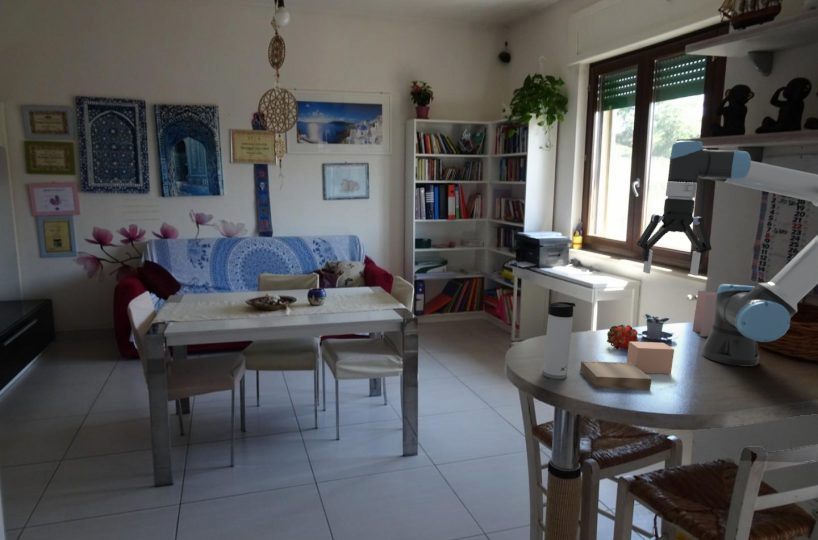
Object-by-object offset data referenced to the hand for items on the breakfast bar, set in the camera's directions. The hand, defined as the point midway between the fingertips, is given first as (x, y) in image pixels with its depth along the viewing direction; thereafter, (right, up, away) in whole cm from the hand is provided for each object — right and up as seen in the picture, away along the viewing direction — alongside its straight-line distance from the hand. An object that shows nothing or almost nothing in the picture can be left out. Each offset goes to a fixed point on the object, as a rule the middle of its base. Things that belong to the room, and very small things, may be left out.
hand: (670, 273), depth 158 cm
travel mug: (-35, -27, -9) cm, 45 cm away
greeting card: (+33, -22, +39) cm, 56 cm away
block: (-7, -27, -1) cm, 28 cm away
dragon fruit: (-7, -24, +18) cm, 31 cm away
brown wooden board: (-20, -28, -11) cm, 36 cm away
